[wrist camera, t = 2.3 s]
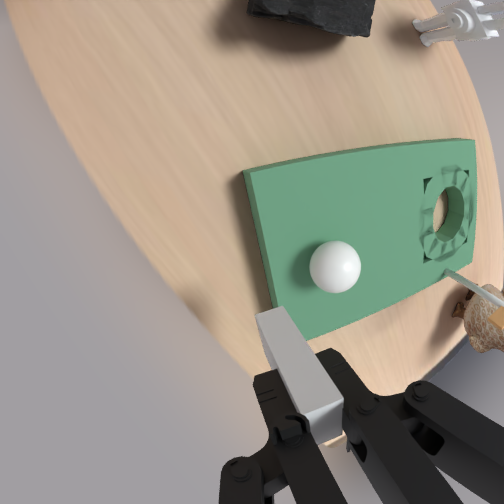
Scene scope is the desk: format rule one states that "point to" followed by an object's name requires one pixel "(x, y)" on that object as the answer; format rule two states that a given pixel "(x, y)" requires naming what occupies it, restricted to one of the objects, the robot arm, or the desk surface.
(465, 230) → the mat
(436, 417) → the robot arm
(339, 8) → the rock
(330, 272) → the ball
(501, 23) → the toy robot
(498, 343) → the figurine
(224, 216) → the desk surface
